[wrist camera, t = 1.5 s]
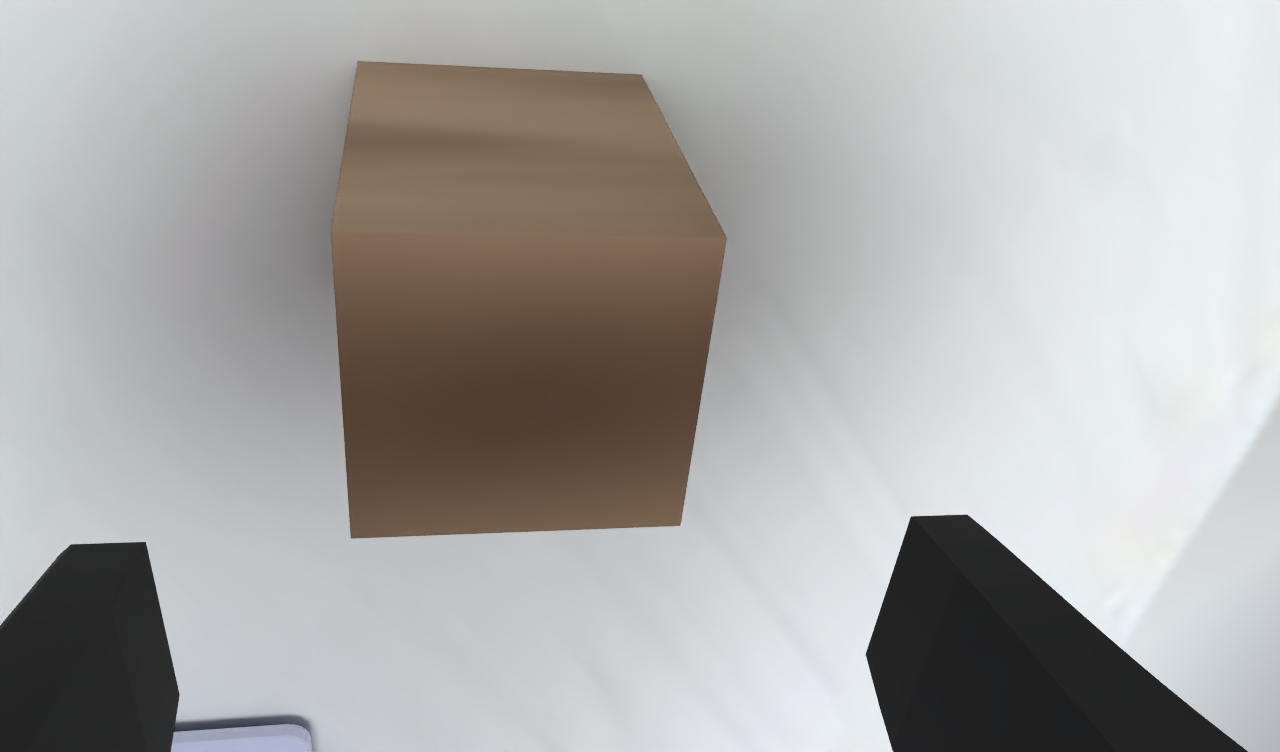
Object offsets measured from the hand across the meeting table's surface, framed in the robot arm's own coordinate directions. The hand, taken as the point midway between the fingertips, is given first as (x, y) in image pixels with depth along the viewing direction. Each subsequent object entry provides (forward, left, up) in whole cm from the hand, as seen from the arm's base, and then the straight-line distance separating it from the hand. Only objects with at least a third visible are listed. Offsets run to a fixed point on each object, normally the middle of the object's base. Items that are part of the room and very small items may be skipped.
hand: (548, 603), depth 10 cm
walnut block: (0, 0, -10) cm, 10 cm away
